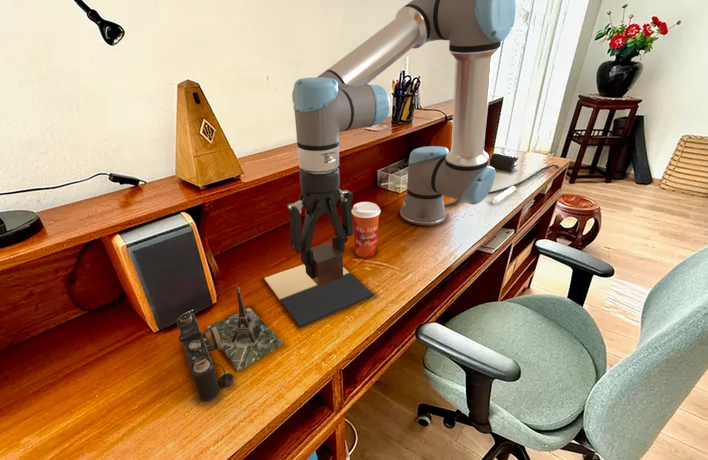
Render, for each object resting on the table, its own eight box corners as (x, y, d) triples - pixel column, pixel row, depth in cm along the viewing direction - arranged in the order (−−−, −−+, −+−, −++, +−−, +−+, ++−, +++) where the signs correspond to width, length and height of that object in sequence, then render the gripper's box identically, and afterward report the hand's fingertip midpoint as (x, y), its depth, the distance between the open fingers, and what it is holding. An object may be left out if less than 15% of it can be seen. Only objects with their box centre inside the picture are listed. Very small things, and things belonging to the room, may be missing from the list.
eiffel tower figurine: (205, 329, 76) (191, 277, 69) (249, 307, 82) (240, 257, 75) (238, 373, 66) (225, 317, 59) (286, 344, 72) (279, 291, 65)
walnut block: (329, 264, 83) (328, 241, 80) (343, 277, 78) (342, 253, 75) (305, 272, 80) (304, 249, 77) (318, 286, 75) (317, 262, 73)
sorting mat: (330, 256, 100) (330, 254, 100) (373, 295, 85) (373, 293, 85) (264, 279, 91) (264, 277, 90) (299, 327, 76) (299, 325, 76)
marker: (494, 205, 129) (495, 199, 128) (489, 204, 130) (490, 198, 129) (515, 191, 141) (516, 186, 140) (510, 190, 142) (511, 184, 141)
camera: (238, 387, 63) (231, 355, 59) (198, 406, 60) (188, 373, 56) (214, 330, 75) (207, 300, 71) (180, 343, 72) (170, 312, 68)
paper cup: (355, 261, 98) (355, 214, 91) (348, 247, 104) (348, 202, 98) (383, 257, 100) (385, 211, 93) (374, 243, 106) (375, 199, 100)
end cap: (488, 169, 164) (490, 154, 160) (494, 165, 168) (497, 151, 165) (509, 174, 158) (513, 159, 155) (516, 170, 162) (519, 155, 159)
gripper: (279, 184, 60) (291, 294, 71) (372, 164, 69) (369, 265, 80) (263, 171, 66) (276, 276, 77) (351, 154, 75) (351, 250, 86)
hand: (324, 270), depth 78 cm, fingers closed on walnut block, 6 cm apart
